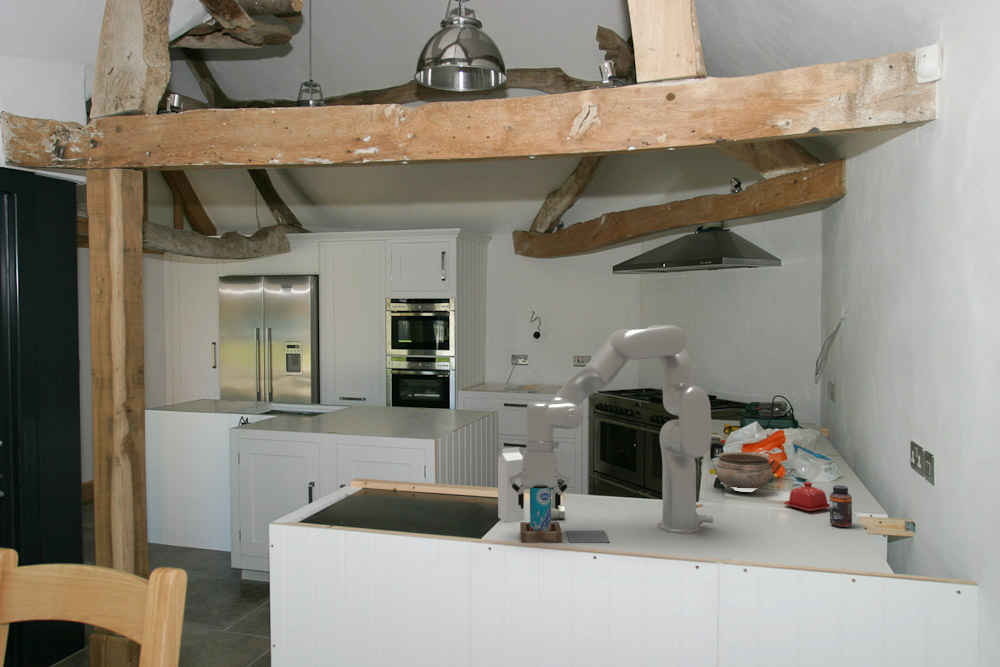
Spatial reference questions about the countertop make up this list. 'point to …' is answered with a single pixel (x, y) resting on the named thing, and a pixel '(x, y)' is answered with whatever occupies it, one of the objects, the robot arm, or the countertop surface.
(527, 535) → the walnut socket block
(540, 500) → the beverage can
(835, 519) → the supplement bottle
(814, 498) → the butter dish
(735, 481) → the cooking pot
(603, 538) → the charcoal rubber mat
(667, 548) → the countertop surface
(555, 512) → the valve
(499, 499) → the milk
